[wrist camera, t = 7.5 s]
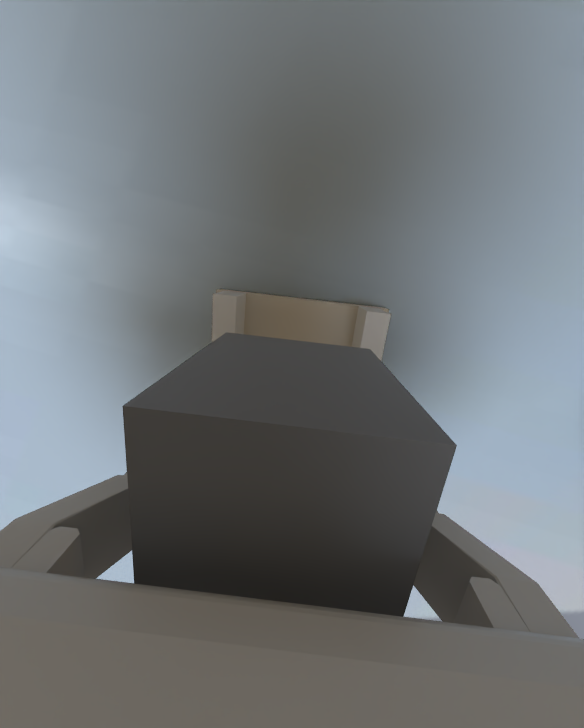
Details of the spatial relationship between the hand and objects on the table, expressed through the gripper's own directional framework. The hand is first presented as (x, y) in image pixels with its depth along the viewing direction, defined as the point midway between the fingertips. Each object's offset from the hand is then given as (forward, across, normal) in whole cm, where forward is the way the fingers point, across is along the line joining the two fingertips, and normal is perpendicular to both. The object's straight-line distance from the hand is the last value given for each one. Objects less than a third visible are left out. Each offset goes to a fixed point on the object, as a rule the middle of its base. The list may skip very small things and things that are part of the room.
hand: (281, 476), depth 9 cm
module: (+2, 0, 0) cm, 2 cm away
